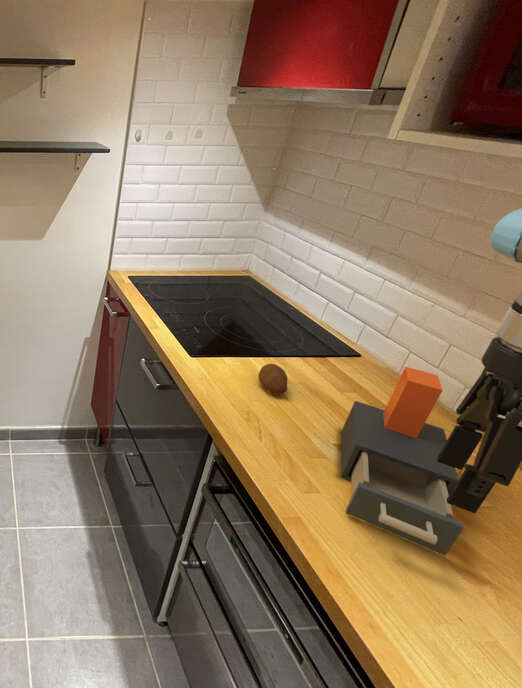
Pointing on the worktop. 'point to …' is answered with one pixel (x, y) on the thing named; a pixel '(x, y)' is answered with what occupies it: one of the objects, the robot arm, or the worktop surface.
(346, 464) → the cabinet
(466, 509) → the robot arm
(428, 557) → the worktop surface
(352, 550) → the worktop surface
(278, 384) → the potato
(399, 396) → the box
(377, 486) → the drawer
